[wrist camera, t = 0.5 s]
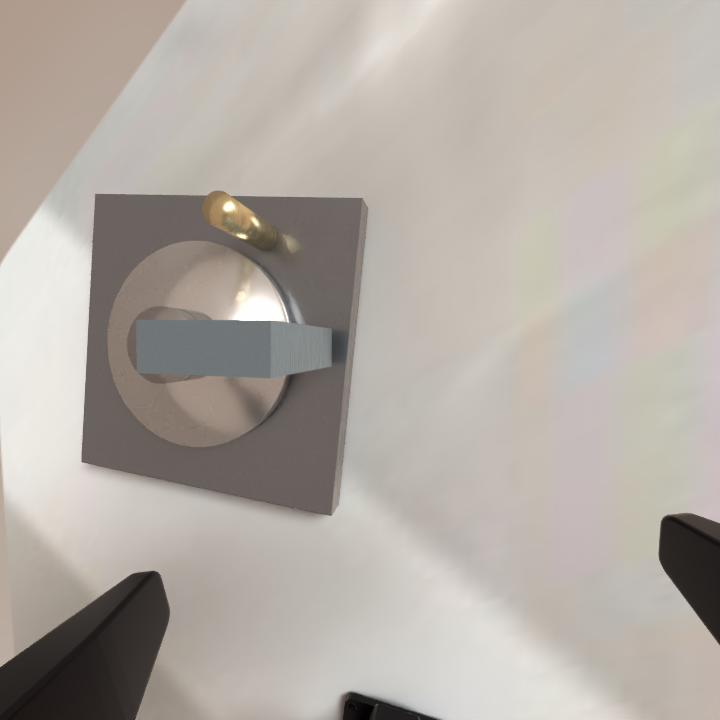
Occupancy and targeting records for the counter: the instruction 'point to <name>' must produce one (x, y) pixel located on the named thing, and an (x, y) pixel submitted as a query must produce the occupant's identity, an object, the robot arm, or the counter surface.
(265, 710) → the counter surface
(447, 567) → the counter surface
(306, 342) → the flange
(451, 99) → the counter surface
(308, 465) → the locating plate
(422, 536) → the counter surface
